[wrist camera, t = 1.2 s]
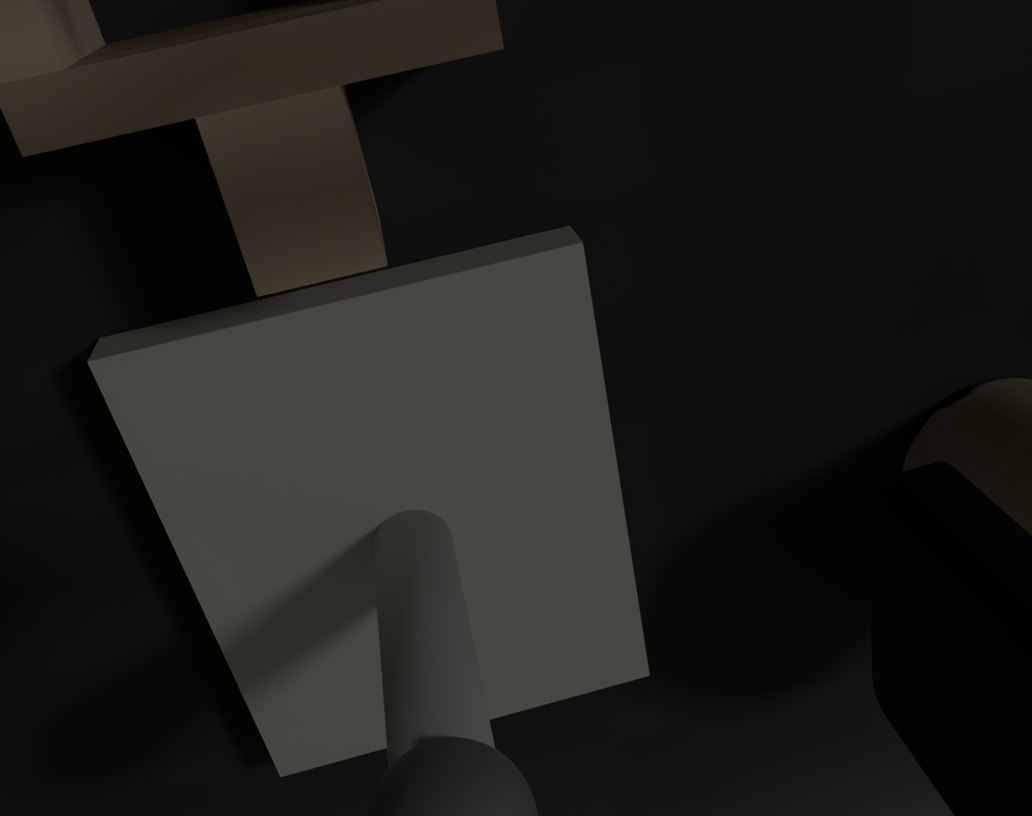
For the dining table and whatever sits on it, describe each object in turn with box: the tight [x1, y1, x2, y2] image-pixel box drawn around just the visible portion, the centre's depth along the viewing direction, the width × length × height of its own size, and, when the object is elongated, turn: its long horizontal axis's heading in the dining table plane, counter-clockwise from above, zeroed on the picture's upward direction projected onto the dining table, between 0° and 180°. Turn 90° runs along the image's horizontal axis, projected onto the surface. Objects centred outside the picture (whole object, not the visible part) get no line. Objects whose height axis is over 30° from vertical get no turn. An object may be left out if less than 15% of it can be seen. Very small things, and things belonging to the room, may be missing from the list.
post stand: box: [88, 226, 650, 816], centre depth 23 cm, size 16×13×13 cm
